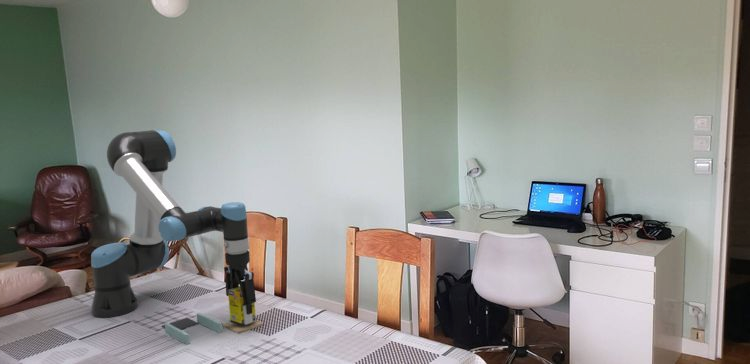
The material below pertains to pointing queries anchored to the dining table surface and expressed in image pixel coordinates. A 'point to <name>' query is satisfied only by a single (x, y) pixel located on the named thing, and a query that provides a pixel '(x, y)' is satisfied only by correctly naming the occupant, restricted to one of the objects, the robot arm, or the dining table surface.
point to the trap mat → (183, 323)
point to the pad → (242, 326)
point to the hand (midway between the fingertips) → (242, 320)
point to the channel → (184, 336)
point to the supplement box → (237, 306)
